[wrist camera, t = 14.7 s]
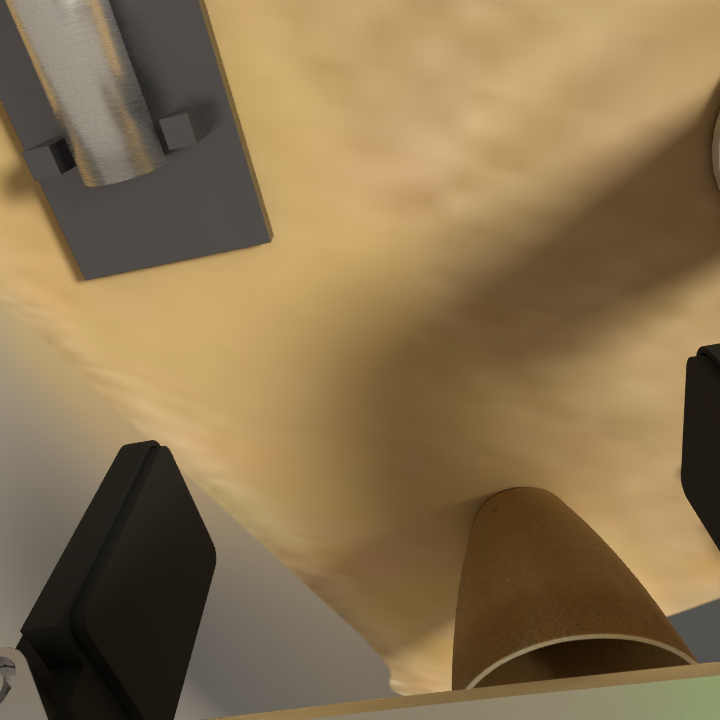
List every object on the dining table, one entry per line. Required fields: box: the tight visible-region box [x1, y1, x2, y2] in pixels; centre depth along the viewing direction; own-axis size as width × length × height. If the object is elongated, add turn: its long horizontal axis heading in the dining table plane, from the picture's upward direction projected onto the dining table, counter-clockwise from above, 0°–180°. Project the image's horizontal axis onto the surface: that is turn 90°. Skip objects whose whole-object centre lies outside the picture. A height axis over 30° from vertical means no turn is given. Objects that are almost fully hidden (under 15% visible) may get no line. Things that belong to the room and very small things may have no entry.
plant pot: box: [452, 487, 699, 691], centre depth 44 cm, size 15×15×16 cm
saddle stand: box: [0, 0, 274, 280], centre depth 28 cm, size 12×28×10 cm, turn 12°
